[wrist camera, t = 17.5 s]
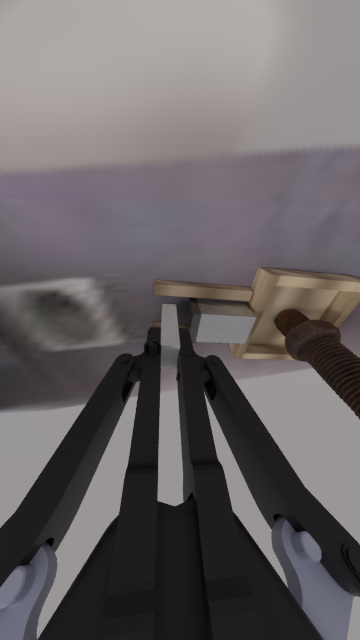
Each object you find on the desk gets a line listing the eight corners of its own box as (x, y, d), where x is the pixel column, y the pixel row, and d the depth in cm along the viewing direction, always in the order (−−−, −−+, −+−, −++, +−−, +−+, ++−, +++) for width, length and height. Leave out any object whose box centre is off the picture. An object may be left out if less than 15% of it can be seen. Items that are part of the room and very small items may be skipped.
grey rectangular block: (185, 322, 21) (188, 342, 18) (189, 296, 18) (193, 313, 15) (233, 325, 21) (244, 344, 18) (243, 300, 19) (257, 317, 16)
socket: (152, 342, 23) (151, 356, 20) (154, 256, 16) (152, 264, 14) (299, 347, 25) (311, 360, 23) (351, 275, 19) (374, 284, 17)
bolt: (294, 289, 19) (546, 451, 6) (316, 310, 20) (541, 465, 8) (254, 323, 21) (378, 487, 9) (277, 339, 23) (404, 492, 11)
